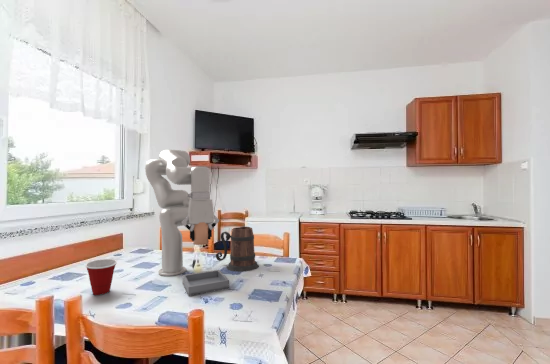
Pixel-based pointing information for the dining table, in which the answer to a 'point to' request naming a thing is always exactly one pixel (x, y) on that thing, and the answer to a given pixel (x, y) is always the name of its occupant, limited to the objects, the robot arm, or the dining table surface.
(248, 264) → the tankard
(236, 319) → the dining table surface
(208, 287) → the tray
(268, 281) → the dining table surface
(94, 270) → the plastic cup
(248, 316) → the dining table surface
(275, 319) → the dining table surface
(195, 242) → the tan cylinder
